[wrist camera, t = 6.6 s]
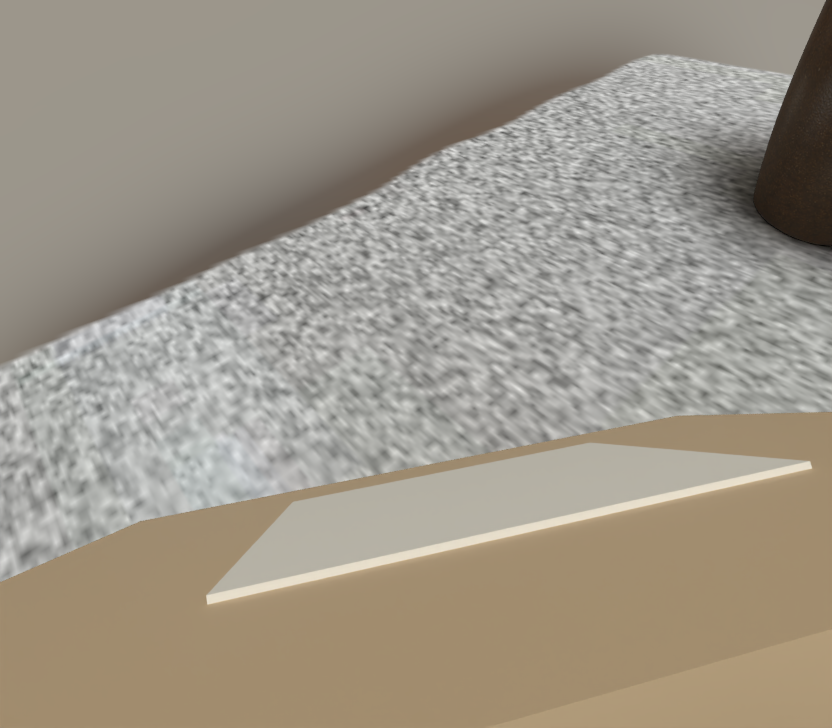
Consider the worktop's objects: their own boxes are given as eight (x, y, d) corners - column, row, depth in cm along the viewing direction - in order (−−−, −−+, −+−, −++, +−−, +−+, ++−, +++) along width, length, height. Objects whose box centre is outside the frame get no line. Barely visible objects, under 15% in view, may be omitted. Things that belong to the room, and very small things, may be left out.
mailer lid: (1700, 461, 4) (1658, 380, 4) (-1992, 1676, 1) (-1888, 1369, 1) (681, 432, 15) (676, 413, 16) (142, 541, 13) (140, 517, 13)
